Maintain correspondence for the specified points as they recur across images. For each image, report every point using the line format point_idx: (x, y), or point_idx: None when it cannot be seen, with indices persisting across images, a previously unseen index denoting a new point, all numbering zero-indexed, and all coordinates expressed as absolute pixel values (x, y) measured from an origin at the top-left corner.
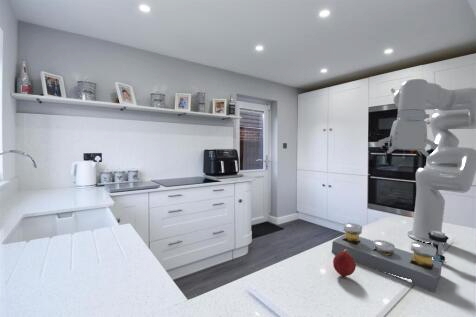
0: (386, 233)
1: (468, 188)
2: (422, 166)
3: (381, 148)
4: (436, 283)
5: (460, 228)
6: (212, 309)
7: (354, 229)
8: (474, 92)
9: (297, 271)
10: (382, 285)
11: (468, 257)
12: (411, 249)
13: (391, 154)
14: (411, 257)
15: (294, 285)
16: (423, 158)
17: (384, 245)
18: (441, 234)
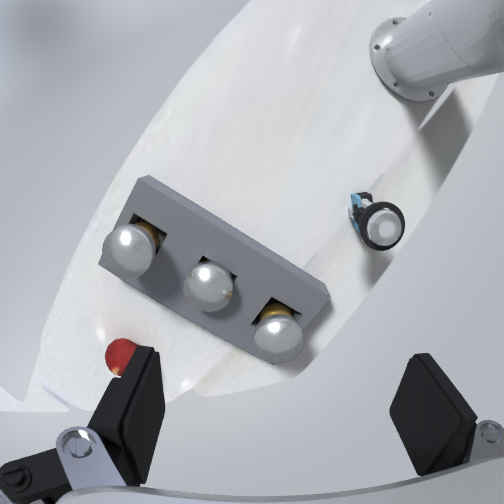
0: (306, 37)
1: None
2: (395, 419)
3: (14, 467)
4: None
5: None
6: (39, 409)
7: (129, 278)
8: None
9: (70, 344)
10: (190, 352)
11: (450, 162)
12: (254, 333)
13: (137, 484)
14: (269, 294)
15: (77, 374)
16: (418, 466)
17: (204, 302)
18: (384, 245)
